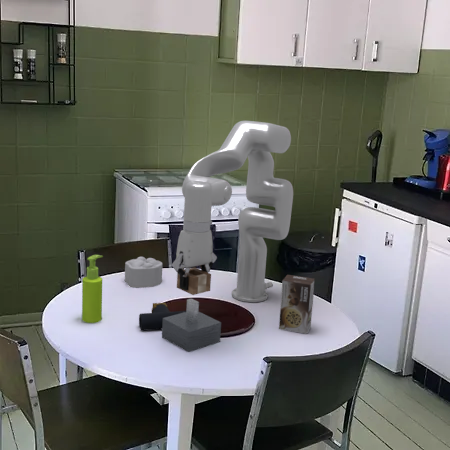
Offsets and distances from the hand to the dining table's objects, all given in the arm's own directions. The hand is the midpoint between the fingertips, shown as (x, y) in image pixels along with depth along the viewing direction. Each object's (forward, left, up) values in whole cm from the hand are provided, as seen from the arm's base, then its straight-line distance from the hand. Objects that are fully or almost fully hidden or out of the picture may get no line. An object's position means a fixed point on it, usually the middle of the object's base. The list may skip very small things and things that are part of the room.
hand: (193, 286), depth 186 cm
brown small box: (0, 0, -1) cm, 1 cm away
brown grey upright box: (-32, +12, -17) cm, 38 cm away
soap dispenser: (+15, -29, -17) cm, 37 cm away
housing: (0, 0, -16) cm, 16 cm away
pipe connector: (-1, -15, -17) cm, 22 cm away
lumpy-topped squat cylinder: (-18, -48, -17) cm, 54 cm away
